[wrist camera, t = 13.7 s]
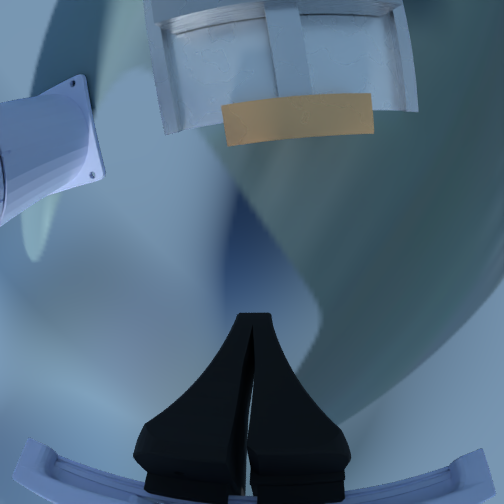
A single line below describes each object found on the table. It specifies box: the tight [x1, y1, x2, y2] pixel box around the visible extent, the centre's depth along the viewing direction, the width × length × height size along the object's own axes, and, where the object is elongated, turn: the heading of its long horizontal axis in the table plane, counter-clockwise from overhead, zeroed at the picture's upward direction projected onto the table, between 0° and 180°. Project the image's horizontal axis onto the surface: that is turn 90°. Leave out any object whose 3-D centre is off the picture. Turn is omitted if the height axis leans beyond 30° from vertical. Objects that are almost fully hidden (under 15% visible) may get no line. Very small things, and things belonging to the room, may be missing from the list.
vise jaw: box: [151, 0, 402, 146], centre depth 12 cm, size 12×9×3 cm
